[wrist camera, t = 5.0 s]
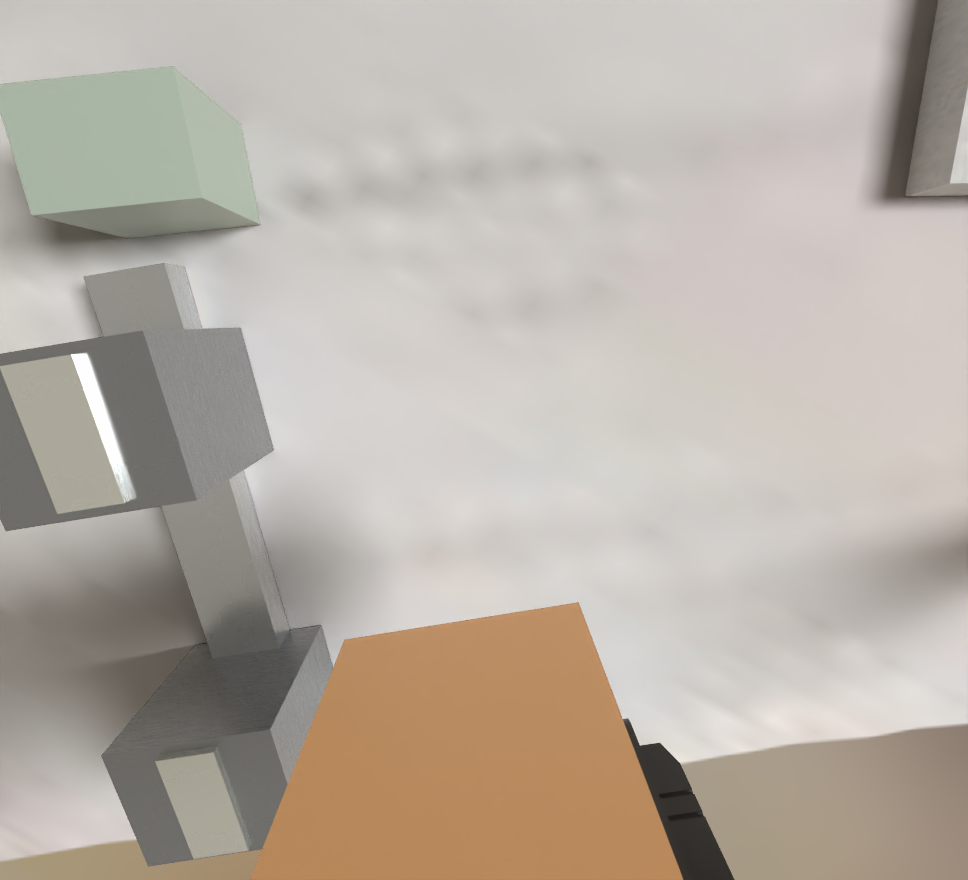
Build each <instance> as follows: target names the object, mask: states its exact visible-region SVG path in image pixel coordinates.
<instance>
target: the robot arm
mask: <svg viewBox="0 0 968 880" xmlns="http://www.w3.org/2000/svg"><path fill="white" fill-rule="evenodd" d="M623 721H624V724H625V727H626V729H627V732H628V735H629V737H630V740H631V743H632V745H633V748H634V750H635V753H636V756H637V758H638V761H639V764H640V766H641V769H642V772H643V774H644V777H645V780H646V782H647V785H648V787H649V790H650V793H651V795H652V798H653V801H654V803H655V806H656V809H657V811H658V814H659V817H660V819H661V822H662V824H663V827H664V830H665V832H666V835H667V838H668V840H669V843H670V846H671V848H672V851H673V854H674V856H675V859H676V861H677V864H678V867H679V869H680V872H681V875H682V877H683V880H734V878H733V876H732V874H731V871H730V869H729V867H728V865H727V863H726V861H725V859H724V857H723V854H722V852H721V851H720V848H719V846H718V844H717V842H716V839H715V837H714V835H713V833H712V831H711V829H710V827H709V825H708V823H707V820H706V818H705V817H704V816H703V813H702V810H701V807H700V806H699V803H698V801H697V799H696V797H695V795H694V794H693V792H692V788H691V786H690V784H689V782H688V780H687V778H686V775H685V773H684V771H683V769H682V767H681V765H680V763H679V762H678V761H677V760H676V759H675V758H674V757H673V756H672V755H671V754H670V753H669V752H668V751H667V750H666V749H665V748H664V747H663V746H662V745H661V744H660V743H655V744H649V745H642V746H640V745H639V743H638V740H637V738H636V735H635V733H634V730H633V728H632V725H631V723H630V721H629V719H623Z"/></svg>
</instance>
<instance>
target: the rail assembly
mask: <svg viewBox="0 0 968 880" xmlns="http://www.w3.org/2000/svg"><path fill="white" fill-rule="evenodd" d="M84 280H85V283H86V286H87V289H88V292H89V295H90V298H91V301H92V304H93V306H94V309H95V312H96V315H97V318H98V321H99V324H100V327H101V330H102V333H103V336H104V337H100V338H94V339H88V340H81V341H75V342H69V343H63V344H57V345H51V346H45V347H39V348H33V349H27V350H21V351H15V352H9V353H3V354H0V519H1V521H2V524H3V526H4V528H5V531H10V530H16V529H22V528H28V527H35V526H41V525H47V524H53V523H60V522H66V521H72V520H78V519H84V518H91V517H97V516H103V515H109V514H116V513H122V512H128V511H134V510H140V509H147V508H153V507H159V506H161V507H162V510H163V513H164V516H165V519H166V522H167V525H168V528H169V531H170V534H171V537H172V540H173V543H174V546H175V549H176V552H177V555H178V557H179V560H180V563H181V566H182V569H183V572H184V575H185V578H186V581H187V584H188V587H189V590H190V593H191V596H192V599H193V602H194V605H195V608H196V611H197V614H198V617H199V620H200V622H201V625H202V628H203V631H204V634H205V637H206V640H207V643H205V644H199V645H195V646H194V647H193V648H192V650H191V651H190V652H189V653H188V654H187V655H186V657H185V658H184V659H183V660H182V661H181V663H180V664H179V665H178V666H177V667H176V668H175V670H174V671H173V672H172V673H171V674H170V675H169V677H168V678H167V679H166V680H165V681H164V683H163V684H162V685H161V686H160V687H159V688H158V690H157V691H156V692H155V693H154V694H153V695H152V697H151V698H150V699H149V700H148V701H147V703H146V704H145V705H144V706H143V707H142V708H141V710H140V711H139V712H138V713H137V714H136V715H135V717H134V718H133V719H132V720H131V721H130V722H129V724H128V725H127V726H126V727H125V728H124V730H123V731H122V732H121V733H120V734H119V735H118V737H117V738H116V739H115V740H114V741H113V742H112V744H111V745H110V746H109V747H108V748H107V750H106V751H105V752H104V753H103V754H102V755H101V756H102V759H103V761H104V763H105V766H106V768H107V770H108V773H109V775H110V777H111V780H112V782H113V785H114V787H115V789H116V792H117V794H118V796H119V799H120V801H121V803H122V806H123V808H124V810H125V813H126V815H127V817H128V820H129V822H130V824H131V827H132V829H133V832H134V834H135V836H136V839H137V841H138V843H139V846H140V848H141V850H142V853H143V855H144V857H145V859H146V862H147V864H148V866H155V865H161V864H167V863H174V862H181V861H187V860H194V859H201V858H207V857H213V856H220V855H226V854H233V853H240V852H246V851H253V850H260V849H263V846H264V844H265V841H266V838H267V836H268V833H269V831H270V828H271V826H272V823H273V821H274V818H275V815H276V813H277V810H278V808H279V805H280V803H281V800H282V798H283V795H284V793H285V790H286V787H287V785H288V782H289V780H290V777H291V775H292V772H293V770H294V767H295V765H296V762H297V759H298V757H299V754H300V752H301V749H302V747H303V744H304V742H305V739H306V737H307V734H308V731H309V729H310V726H311V724H312V721H313V719H314V716H315V714H316V711H317V709H318V706H319V703H320V701H321V698H322V696H323V693H324V691H325V688H326V686H327V683H328V680H329V678H330V675H331V673H332V670H333V666H332V663H331V659H330V655H329V652H328V648H327V644H326V641H325V637H324V633H323V630H322V626H321V625H320V626H313V627H307V628H301V629H294V630H290V629H289V626H288V622H287V619H286V615H285V612H284V609H283V605H282V602H281V598H280V595H279V591H278V588H277V584H276V581H275V578H274V574H273V571H272V567H271V564H270V560H269V557H268V553H267V550H266V547H265V543H264V540H263V536H262V533H261V529H260V526H259V522H258V519H257V515H256V512H255V509H254V505H253V502H252V498H251V495H250V491H249V488H248V484H247V481H246V478H245V474H244V471H243V470H244V469H246V468H247V467H249V466H250V465H252V464H254V463H255V462H257V461H258V460H260V459H261V458H263V457H264V456H266V455H267V454H269V453H270V452H272V451H273V450H274V449H273V445H272V442H271V438H270V434H269V431H268V427H267V423H266V420H265V416H264V412H263V409H262V405H261V401H260V398H259V394H258V390H257V387H256V383H255V379H254V376H253V372H252V368H251V364H250V361H249V357H248V353H247V350H246V346H245V342H244V339H243V335H242V331H241V328H214V329H202V326H201V322H200V319H199V316H198V312H197V309H196V305H195V302H194V298H193V295H192V291H191V288H190V285H189V281H188V278H187V274H186V271H185V267H182V266H177V265H171V264H166V263H162V264H156V265H150V266H144V267H138V268H132V269H126V270H120V271H114V272H108V273H102V274H96V275H90V276H84Z"/></svg>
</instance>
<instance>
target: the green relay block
mask: <svg viewBox="0 0 968 880" xmlns="http://www.w3.org/2000/svg"><path fill="white" fill-rule="evenodd" d="M0 113H1V116H2V120H3V123H4V126H5V130H6V133H7V136H8V140H9V143H10V146H11V150H12V153H13V156H14V160H15V163H16V166H17V170H18V173H19V176H20V180H21V183H22V186H23V190H24V193H25V196H26V200H27V203H28V207H29V210H30V213H31V215H32V216H36V217H40V218H44V219H49V220H53V221H57V222H61V223H65V224H69V225H74V226H78V227H82V228H86V229H90V230H94V231H99V232H103V233H107V234H111V235H115V236H119V237H124V238H136V237H146V236H155V235H165V234H175V233H184V232H194V231H204V230H213V229H223V228H233V227H242V226H252V225H261V222H260V217H259V212H258V207H257V202H256V197H255V192H254V186H253V181H252V176H251V171H250V166H249V161H248V156H247V151H246V145H245V140H244V135H243V130H242V125H241V124H240V123H239V122H238V121H237V120H236V119H234V118H233V117H232V116H231V115H230V114H229V113H227V112H226V111H225V110H224V109H223V108H222V107H220V106H219V105H218V104H217V103H216V102H215V101H213V100H212V99H211V98H210V97H209V96H208V95H206V94H205V93H204V92H203V91H202V90H201V89H199V88H198V87H197V86H196V85H195V84H194V83H192V82H191V81H190V80H189V79H188V78H187V77H185V76H184V75H183V74H182V73H181V72H180V71H178V70H177V69H176V68H175V67H174V66H170V67H160V68H150V69H141V70H131V71H121V72H111V73H102V74H92V75H82V76H73V77H63V78H53V79H43V80H34V81H24V82H14V83H5V84H0Z"/></svg>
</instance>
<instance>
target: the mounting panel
mask: <svg viewBox="0 0 968 880" xmlns="http://www.w3.org/2000/svg"><path fill="white" fill-rule="evenodd" d="M961 195H968V0H938V4H937V10H936V16H935V21H934V27H933V33H932V39H931V45H930V51H929V57H928V63H927V69H926V75H925V81H924V87H923V93H922V98H921V104H920V110H919V116H918V122H917V128H916V134H915V140H914V146H913V152H912V158H911V164H910V170H909V176H908V181H907V187H906V193H905V196H961Z"/></svg>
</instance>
